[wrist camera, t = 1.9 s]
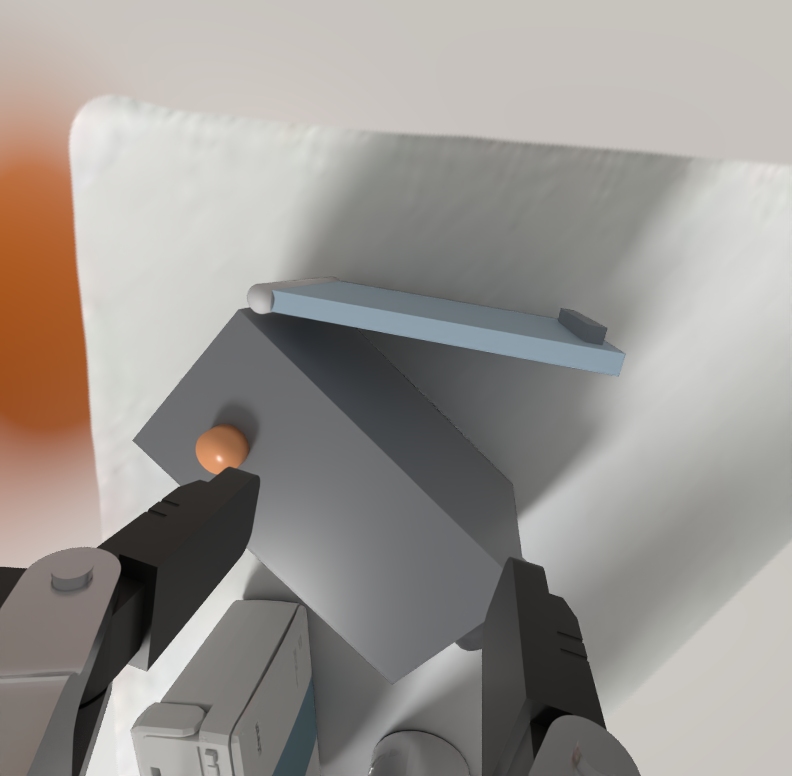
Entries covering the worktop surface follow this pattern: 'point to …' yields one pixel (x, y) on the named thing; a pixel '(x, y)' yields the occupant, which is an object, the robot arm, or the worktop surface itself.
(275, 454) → the camera housing
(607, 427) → the worktop surface
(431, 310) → the side door
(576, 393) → the worktop surface
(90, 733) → the robot arm
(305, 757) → the stereo radio cassette player
